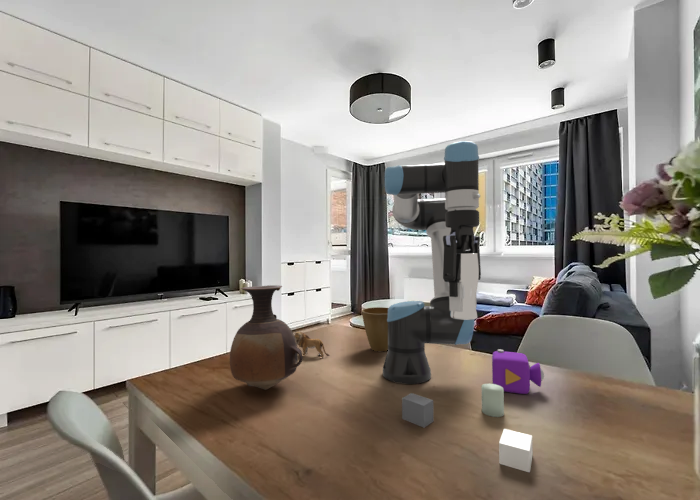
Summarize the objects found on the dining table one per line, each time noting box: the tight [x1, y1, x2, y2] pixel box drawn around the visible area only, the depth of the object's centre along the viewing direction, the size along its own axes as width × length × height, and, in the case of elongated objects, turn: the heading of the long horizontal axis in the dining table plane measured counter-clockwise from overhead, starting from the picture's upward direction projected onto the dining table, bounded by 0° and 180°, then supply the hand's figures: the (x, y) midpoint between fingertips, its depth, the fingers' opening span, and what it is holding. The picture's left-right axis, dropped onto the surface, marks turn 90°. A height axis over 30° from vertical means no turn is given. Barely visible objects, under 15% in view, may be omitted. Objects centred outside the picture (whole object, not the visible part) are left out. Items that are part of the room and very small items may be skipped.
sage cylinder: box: [480, 383, 505, 418], centre depth 83 cm, size 5×5×6 cm
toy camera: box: [491, 348, 545, 395], centre depth 98 cm, size 11×14×10 cm
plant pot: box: [361, 306, 389, 352], centre depth 139 cm, size 15×15×16 cm
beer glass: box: [448, 253, 479, 320], centre depth 80 cm, size 7×7×15 cm
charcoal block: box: [401, 392, 435, 428], centre depth 80 cm, size 6×4×5 cm, turn 45°
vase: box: [229, 284, 304, 391], centre depth 100 cm, size 23×19×30 cm
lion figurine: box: [293, 331, 330, 358], centre depth 132 cm, size 15×5×9 cm, turn 74°
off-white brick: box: [498, 428, 534, 473], centre depth 64 cm, size 6×5×4 cm
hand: (463, 308), depth 80 cm, fingers closed on beer glass, 6 cm apart
